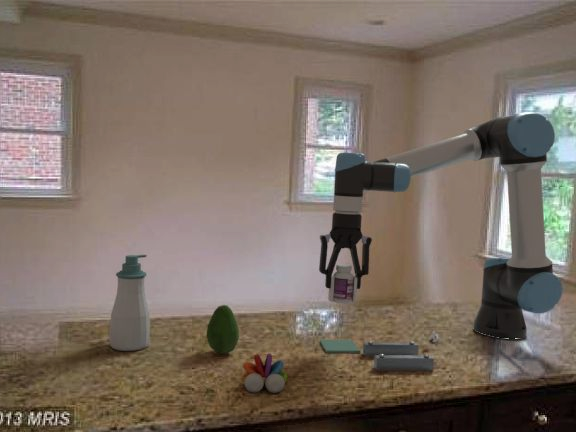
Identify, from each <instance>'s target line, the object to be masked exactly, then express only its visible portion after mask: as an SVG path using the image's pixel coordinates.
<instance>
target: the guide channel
mask: <svg viewBox="0 0 576 432" xmlns="http://www.w3.org/2000/svg"><path fill="white" fill-rule="evenodd" d="M362 345H363V346H362V348H363V349H362V355H364V357H374V358H373V359H374V360H373V369H374V370H375V371H381V372H383V371H385V372H386V371H389V372H390V371H398V372H399V371H401V372H402V371H410V372H411V371H413V372H414V371H416V372H417V371H421V372H423V371H424V372H425V371H429V372H431V371H434V363H435V358H434V357H433V356H432V355H429V354H428V353H423V355H419V348H420V347H419V343H417V342H415V341H412V340H411V341H409V342H392V341H391V342H386V341H385V342H379V341H375V342H374V341H372V340H368V341H365V342H363V344H362Z"/></svg>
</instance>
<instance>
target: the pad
mask: <svg viewBox="0 0 576 432" xmlns="http://www.w3.org/2000/svg"><path fill="white" fill-rule="evenodd" d="M319 343H320V345H321V346H322V348H323V350H324V352H325V353H326V354H361V351H362V350H361V349H360V348H359V346H358V345H357V344H356V343H355V342H354V340H353V339H319Z"/></svg>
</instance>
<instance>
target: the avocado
mask: <svg viewBox="0 0 576 432" xmlns="http://www.w3.org/2000/svg"><path fill="white" fill-rule="evenodd" d="M239 331H240V330H239V325H238V322H237V320H236V318H235V314H234V313H233V310H232V308H231V307H229V305H225V304H222V305H219V306H217V308H216V309H215V310H214V311H213V313H212V316H211V318H210V320H209V321H208V324H207V328H206V340H207V343H208V345H209V347H210V348H211V349H212V350H213V351H214V352H215V353H218V354H223V355H225V354H229V353H231V352H233V351H234V350H235V348H236V346H237V345H238V341H239V339H240V332H239Z"/></svg>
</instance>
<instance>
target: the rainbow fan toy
mask: <svg viewBox="0 0 576 432" xmlns="http://www.w3.org/2000/svg"><path fill="white" fill-rule="evenodd" d="M253 360H254V363H252V362H249V361H246V362H244V363H243V364H242V366H243V369H244V370H245V373H244V374H242V375H241V382H242V383H243V384H244V387H245V388H246V390H247V391H248V392H250V393H252V394H253V393H259V392H260V391H261V390H263V387H264V386H265V388H266V390H267V391H268V392H270V393H272V394H277V393H280V392H281V391H283V389H284V388H285V382H287V381H288V375H287V373H286V372H285V371H283V370H282V368H284V365H285V363H284V361H283V360H280V359H279V360H277V361H275V362H274V363H272V362H273V355H272V354H271V353H267V354H266V356H265V361H264V363H263V360H262V358H261V356H260V355H259V354H257V353H256V354H254V355H253ZM264 379H265V381H264Z"/></svg>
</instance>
